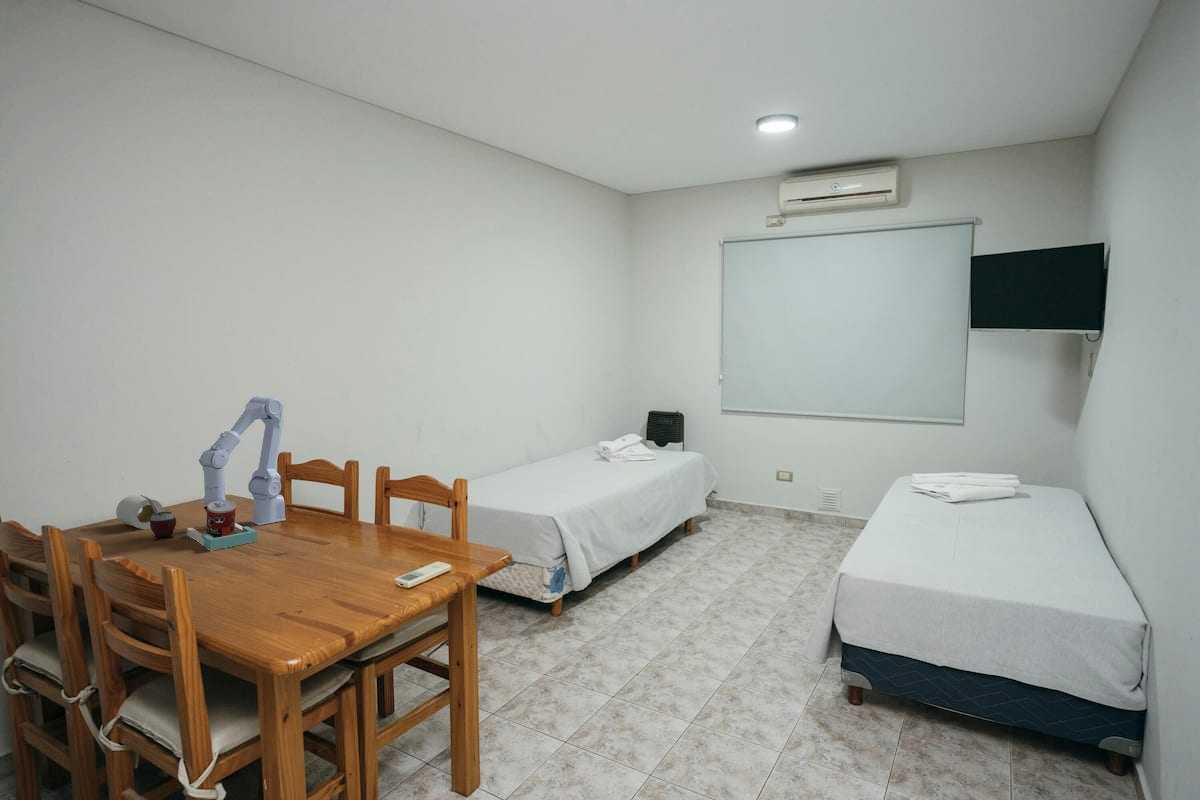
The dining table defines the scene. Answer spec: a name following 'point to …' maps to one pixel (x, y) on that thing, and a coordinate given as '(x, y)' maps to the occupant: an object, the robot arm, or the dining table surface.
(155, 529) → the mate gourd
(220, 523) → the canned food
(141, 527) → the toilet paper
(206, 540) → the teal white rectangular tray
